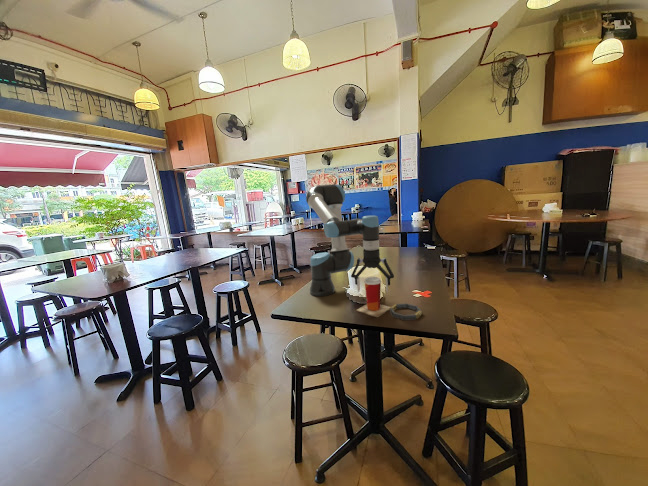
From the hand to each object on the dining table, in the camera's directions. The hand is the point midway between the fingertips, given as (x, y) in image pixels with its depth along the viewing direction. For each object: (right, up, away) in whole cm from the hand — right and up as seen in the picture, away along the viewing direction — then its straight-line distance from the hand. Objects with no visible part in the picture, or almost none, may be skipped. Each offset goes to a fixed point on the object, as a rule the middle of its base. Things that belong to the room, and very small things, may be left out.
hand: (372, 291), depth 122 cm
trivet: (+1, -9, +1) cm, 9 cm away
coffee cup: (+1, -9, +1) cm, 9 cm away
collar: (+14, -9, -5) cm, 18 cm away
